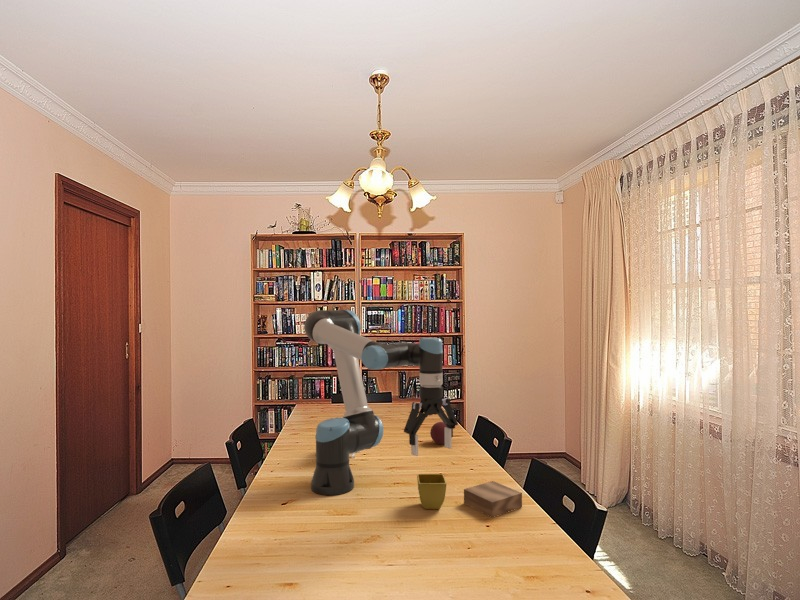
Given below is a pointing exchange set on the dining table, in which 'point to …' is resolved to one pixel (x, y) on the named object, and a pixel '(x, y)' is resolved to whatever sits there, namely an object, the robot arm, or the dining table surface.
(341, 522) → the dining table surface
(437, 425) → the decorative ball
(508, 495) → the walnut block
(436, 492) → the flower pot
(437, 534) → the dining table surface
